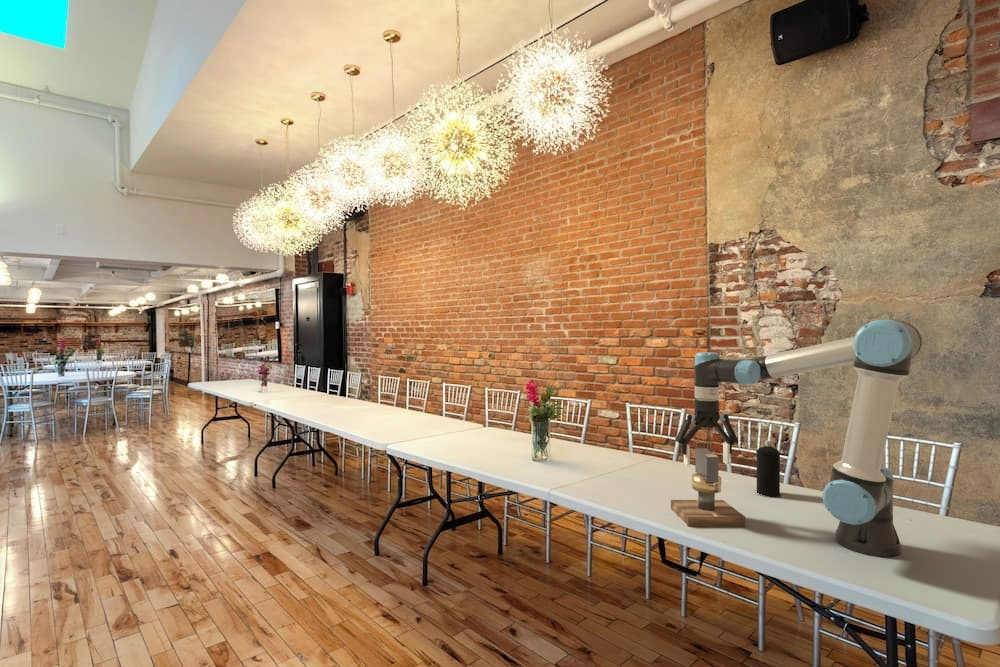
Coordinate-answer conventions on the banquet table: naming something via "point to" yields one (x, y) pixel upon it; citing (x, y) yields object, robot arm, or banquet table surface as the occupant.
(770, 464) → the aerosol can
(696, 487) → the coupling
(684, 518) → the base
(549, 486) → the banquet table surface
